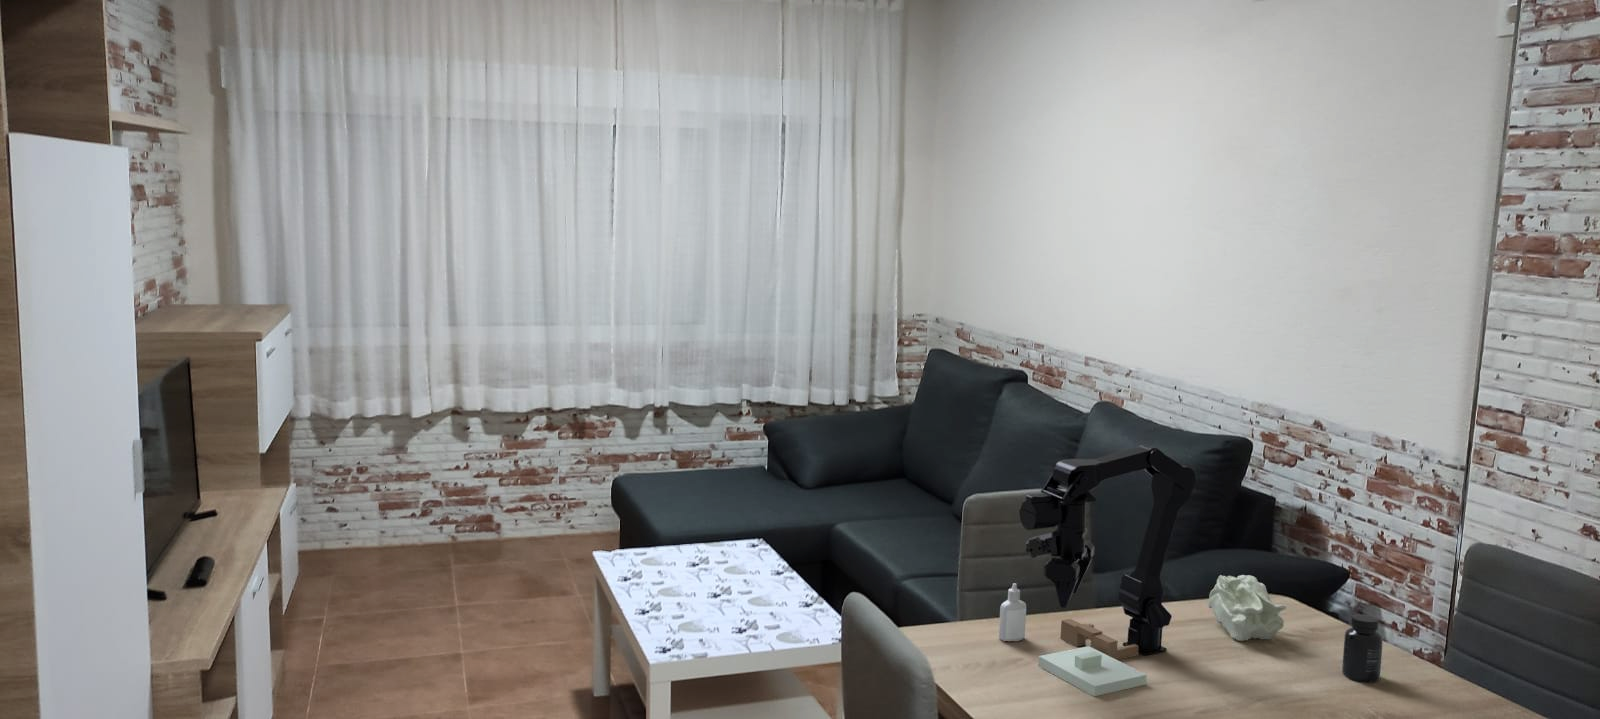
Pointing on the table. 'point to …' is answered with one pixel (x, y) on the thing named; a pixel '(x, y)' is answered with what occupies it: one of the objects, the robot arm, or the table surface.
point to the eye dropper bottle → (1012, 617)
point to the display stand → (1092, 670)
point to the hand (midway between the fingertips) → (1068, 599)
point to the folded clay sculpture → (1245, 608)
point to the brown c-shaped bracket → (1095, 639)
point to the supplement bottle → (1362, 649)
